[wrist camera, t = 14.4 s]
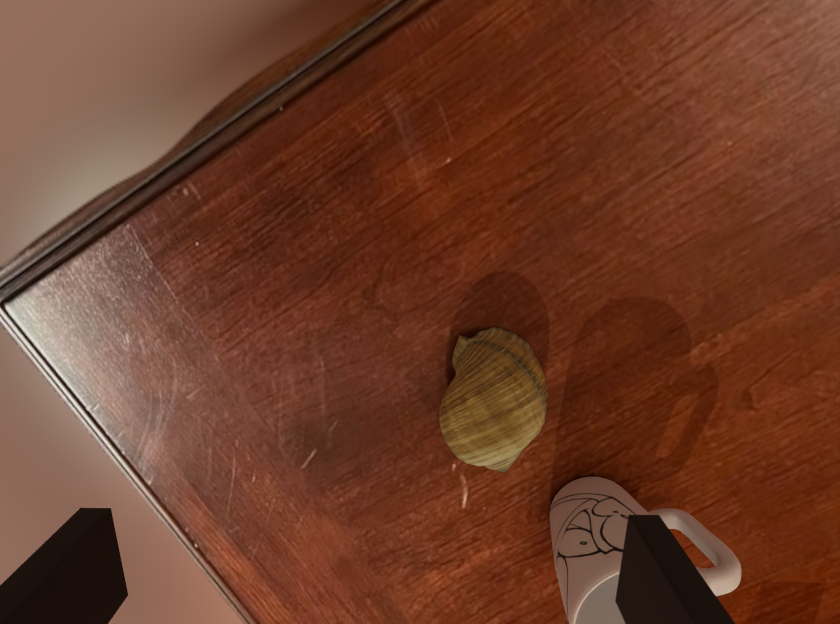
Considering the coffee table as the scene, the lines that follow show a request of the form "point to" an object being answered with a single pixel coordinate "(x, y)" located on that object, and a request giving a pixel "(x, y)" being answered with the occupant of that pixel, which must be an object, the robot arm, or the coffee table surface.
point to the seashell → (493, 399)
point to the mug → (615, 547)
